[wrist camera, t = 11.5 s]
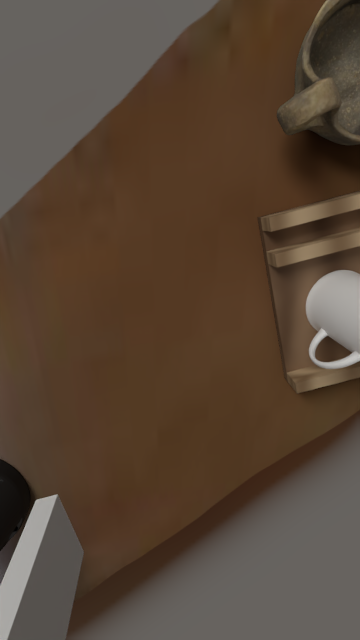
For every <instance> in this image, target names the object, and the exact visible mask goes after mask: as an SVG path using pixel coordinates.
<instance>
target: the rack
mask: <svg viewBox="0 0 360 640" xmlns="http://www.w3.org/2000/svg"><path fill="white" fill-rule="evenodd" d="M258 223H259V229H260V235H261V241H262V247H263V252H264V258H265V264H266V270H267V276H268V282H269V288H270V294H271V300H272V305H273V311H274V317H275V323H276V329H277V335H278V341H279V347H280V353H281V359H282V364H283V370H284V376H285V379H286V380H287V382H288V383H289V384H290V385H291V387H292V388H293V389H294V390H295V392H296V393H301V392H305V391H309V390H313V389H317V388H320V387H324V386H328V385H332V384H336V383H340V382H344V381H347V380H351V379H355V378H359V377H360V361H359V362H357V363H355V364H352V365H350V366H347V367H343V368H339V369H325V368H321V367H319V366H317V365H316V364H315V363H314V362H313V361H312V360H311V358H310V356H309V347H310V344H311V342H312V340H313V338H314V337H315V335H316V334H317V333H318V331H317V330H316V329H314V328H313V327H312V325H311V324H310V323H309V321H308V318H307V315H306V300H307V297H308V294H309V292H310V290H311V288H312V287H313V286H314V284H315V283H316V282H317V281H318V280H319V279H320V278H322V277H323V276H325V275H326V274H328V273H331V272H334V271H338V270H350V271H354V272H356V273H358V274H360V191H357V192H354V193H350V194H346V195H342V196H338V197H334V198H331V199H327V200H323V201H319V202H315V203H312V204H308V205H304V206H300V207H296V208H292V209H289V210H285V211H281V212H277V213H273V214H270V215H266V216H262V217H258ZM350 354H352V352H351V351H349V350H348V349H346V348H345V347H344V346H342V345H341V344H339V343H338V342H336V341H335V340H333V339H332V338H330V337H329V336H326V337H325V338H323V339H322V340H321V342H320V343H319V344H318V346H317V348H316V351H315V358H316V359H317V360H318V361H321V362H334V361H338V360H341V359H343V358H346V357H347V356H349V355H350Z"/></svg>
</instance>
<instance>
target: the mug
mask: <svg viewBox="0 0 360 640" xmlns="http://www.w3.org/2000/svg"><path fill="white" fill-rule="evenodd" d="M306 315H307V318H308V321H309V323H310V324H311V325H312V327H313V328H314V329H316V330H317V331H318V333H317V334H316V335H315V337H314V338H313V340H312V342H311V344H310V347H309V356H310V358H311V360H312V361H313V362H314V363H315V364H316V365H317V366H319V367H321V368H325V369H339V368H343V367H347V366H350V365H352V364H355V363H357V362H359V361H360V274H358V273H356V272H354V271H350V270H338V271H334V272H331V273H328V274H326V275H325V276H323V277H322V278H320V279H319V280H318V281H317V282H316V283H315V284H314V286H313V287H312V288H311V290H310V292H309V294H308V297H307V300H306ZM326 336H329V337H330V338H332V339H333V340H335V341H336V342H338V343H339V344H341V345H342V346H344V347H345V348H346V349H348V350H349V351H351V352H352V354H350V355H349V356H347V357H346V358H343V359H341V360H338V361H334V362H321V361H318V360H317V359H316V358H315V351H316V348H317V346H318V344H319V343H320V342H321V340H322V339H323V338H325V337H326Z"/></svg>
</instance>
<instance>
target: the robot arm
mask: <svg viewBox="0 0 360 640" xmlns="http://www.w3.org/2000/svg"><path fill="white" fill-rule="evenodd" d="M29 506H30V492H29V489H28V486H27V484H26V482H25V480H24V479H23V477H22V476H21V475H20V474H19V473H18V472H17V471H16V470H15V469H14V468H13V467H12V466H10V465H9V464H7V463H6V462H4V461H2V460H0V551H1V550H2V549H3V547H4V546H5V545H6V544H7V542H8V541H9V540H10V539H11V538H12V537H13V536H14V535H15V534H16V533H17V531H18V530H19V529H20V527H21V525H22V523H23V521H24V519H25V517H26V514H27V512H28V509H29ZM83 554H84V551H83V549H82V547H81V545H80V542H79V540H78V538H77V536H76V534H75V531H74V529H73V527H72V525H71V523H70V520H69V518H68V516H67V514H66V512H65V509H64V507H63V505H62V503H61V501H60V499H59V496H58V494H57V495H54V496H50V497H46V498H42V499H38V500H36V501H35V504H34V506H33V508H32V511H31V513H30V516H29V518H28V520H27V523H26V525H25V528H24V530H23V532H22V535H21V537H20V540H19V542H18V544H17V547H16V549H15V552H14V554H13V556H12V559H11V561H10V564H9V566H8V568H7V571H6V573H5V575H4V578H3V580H2V583H1V585H0V640H65V639H66V634H67V630H68V625H69V620H70V616H71V611H72V606H73V601H74V597H75V592H76V587H77V582H78V578H79V573H80V568H81V563H82V558H83Z"/></svg>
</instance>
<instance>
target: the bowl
mask: <svg viewBox="0 0 360 640" xmlns="http://www.w3.org/2000/svg"><path fill="white" fill-rule="evenodd" d="M277 118H278V121H279V123H280V125H281V127H282V129H283V131H284V132H285V134H287V135H293V134H295V133H298V132H301V131H304V130H311V131H313V132H315V133H317V134H318V135H320V136H322V137H323V138H325V139H327V140H330V141H332V142H335V143H338V144H341V145H358V144H360V0H326V1H325V3H324V4H323V6H322V7H321V9H320V10H319V12H318V14H317V16H316V17H315V19H314V21H313V24H312V26H311V27H310V29H309V31H308V32H307V34H306V36H305V38H304V41H303V43H302V46H301V49H300V52H299V55H298V58H297V64H296V73H295V94H294V97H292V98H291V99H290V100H289V101H287V102H286V103H284V104H283V105H282V106H281V107H280V108H279V109H278V111H277Z"/></svg>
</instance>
